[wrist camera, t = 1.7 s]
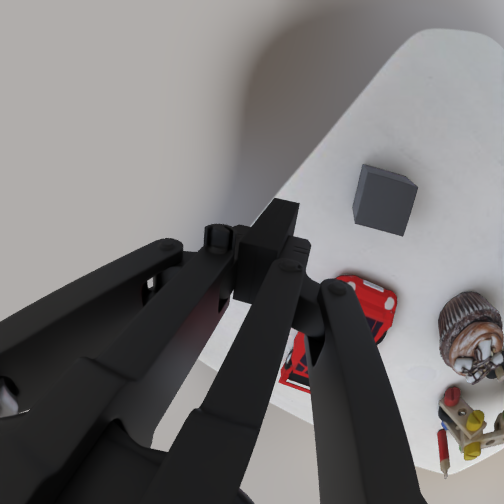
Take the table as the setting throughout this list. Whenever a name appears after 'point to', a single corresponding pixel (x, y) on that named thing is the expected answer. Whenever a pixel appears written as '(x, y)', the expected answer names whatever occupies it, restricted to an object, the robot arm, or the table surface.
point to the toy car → (378, 317)
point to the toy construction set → (467, 424)
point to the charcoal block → (383, 200)
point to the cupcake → (471, 336)
